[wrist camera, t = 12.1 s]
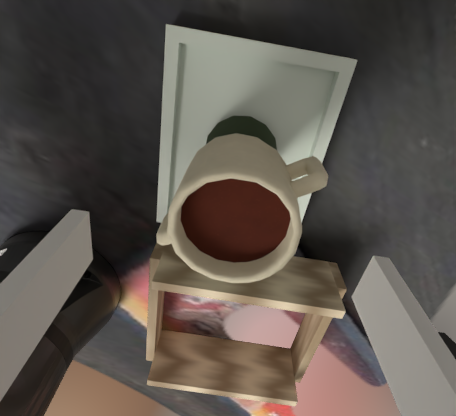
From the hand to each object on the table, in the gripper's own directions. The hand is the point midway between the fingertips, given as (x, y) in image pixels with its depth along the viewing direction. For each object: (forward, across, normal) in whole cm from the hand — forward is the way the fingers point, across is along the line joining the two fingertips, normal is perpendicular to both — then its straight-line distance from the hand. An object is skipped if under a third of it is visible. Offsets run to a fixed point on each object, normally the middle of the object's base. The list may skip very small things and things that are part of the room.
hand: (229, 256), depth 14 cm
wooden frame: (+16, +4, -20) cm, 26 cm away
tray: (+16, +1, 0) cm, 16 cm away
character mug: (+15, 0, 0) cm, 15 cm away
